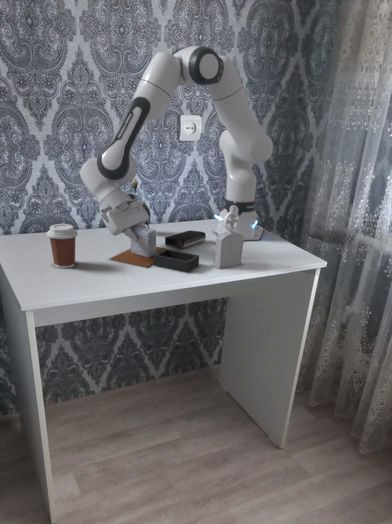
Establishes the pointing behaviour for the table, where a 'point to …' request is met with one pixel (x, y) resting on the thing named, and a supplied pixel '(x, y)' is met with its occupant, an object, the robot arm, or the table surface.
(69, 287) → the table surface
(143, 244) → the medicine box
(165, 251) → the frame
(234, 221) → the gravestone
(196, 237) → the black sponge
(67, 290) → the table surface
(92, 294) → the table surface
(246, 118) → the robot arm
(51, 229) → the coffee cup
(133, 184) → the plant with pod
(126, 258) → the desk pad
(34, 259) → the table surface
